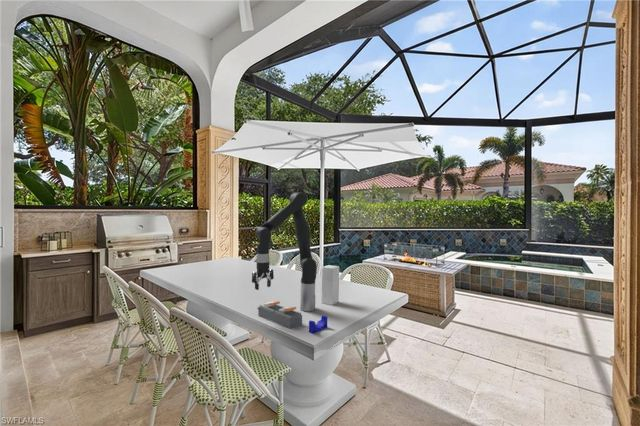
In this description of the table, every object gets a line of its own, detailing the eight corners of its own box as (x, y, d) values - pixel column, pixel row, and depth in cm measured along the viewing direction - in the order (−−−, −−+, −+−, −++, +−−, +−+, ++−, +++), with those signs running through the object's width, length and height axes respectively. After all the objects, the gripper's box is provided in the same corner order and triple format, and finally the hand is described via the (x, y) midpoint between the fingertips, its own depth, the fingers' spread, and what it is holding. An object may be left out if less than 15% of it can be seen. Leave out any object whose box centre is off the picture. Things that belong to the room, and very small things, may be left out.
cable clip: (320, 325, 169) (321, 314, 169) (327, 327, 166) (327, 316, 166) (306, 331, 160) (306, 320, 160) (313, 334, 157) (313, 322, 157)
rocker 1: (263, 305, 181) (263, 303, 182) (270, 304, 185) (270, 302, 185) (273, 305, 176) (273, 303, 176) (279, 303, 179) (279, 301, 179)
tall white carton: (321, 302, 209) (322, 266, 209) (328, 299, 216) (328, 264, 216) (332, 305, 204) (333, 268, 204) (338, 302, 212) (339, 266, 211)
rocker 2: (279, 311, 172) (278, 309, 172) (285, 309, 176) (285, 307, 176) (289, 311, 166) (289, 308, 166) (296, 308, 170) (296, 306, 170)
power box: (252, 313, 186) (252, 303, 186) (264, 309, 192) (264, 300, 192) (290, 328, 163) (290, 317, 163) (302, 324, 170) (302, 313, 170)
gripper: (268, 258, 187) (268, 285, 188) (249, 261, 177) (249, 289, 177) (276, 260, 182) (276, 287, 183) (257, 263, 172) (256, 291, 172)
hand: (262, 288), depth 180 cm, fingers open, 8 cm apart
